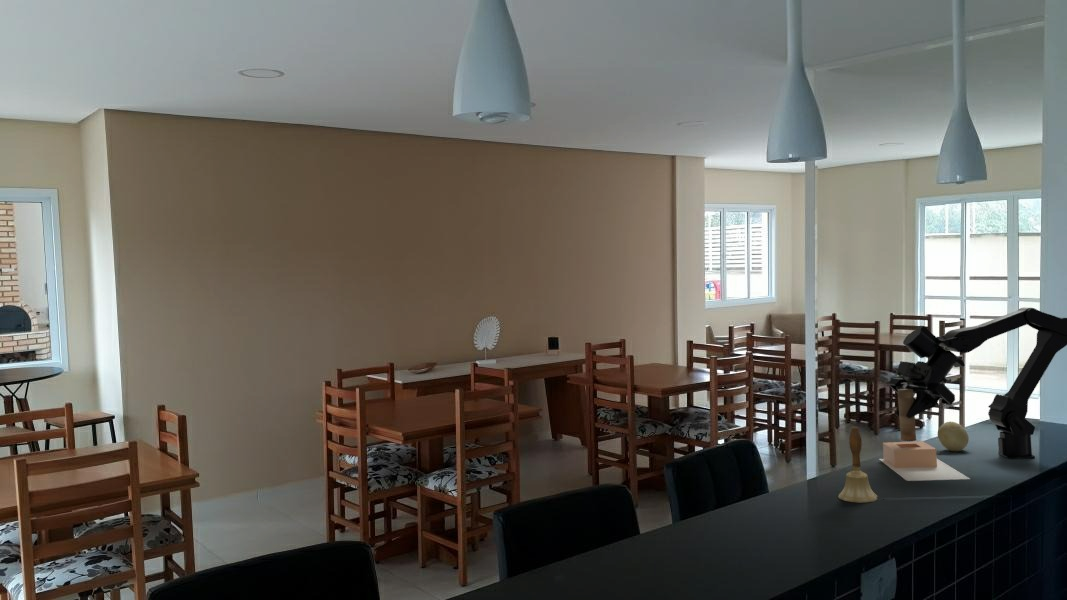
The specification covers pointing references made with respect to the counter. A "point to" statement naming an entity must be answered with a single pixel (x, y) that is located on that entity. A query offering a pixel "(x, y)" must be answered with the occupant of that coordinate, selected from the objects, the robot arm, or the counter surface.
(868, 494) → the hand bell
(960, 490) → the counter surface
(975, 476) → the counter surface
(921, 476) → the collar plate
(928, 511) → the counter surface
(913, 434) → the walnut peg
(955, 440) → the potato
